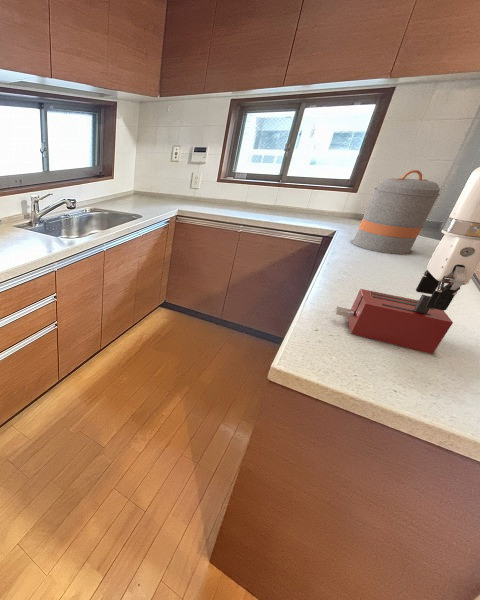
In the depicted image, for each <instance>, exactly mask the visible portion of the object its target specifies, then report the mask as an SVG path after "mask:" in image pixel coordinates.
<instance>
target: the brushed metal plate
mask: <svg viewBox="0 0 480 600" xmlns="http://www.w3.org/2000/svg"><path fill="white" fill-rule="evenodd" d="M335 315H337V316H342V317H345V318H348V317H350V318H353V316H354V312H353V310H351V308H346V307H342V306H336V309H335Z"/></svg>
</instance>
